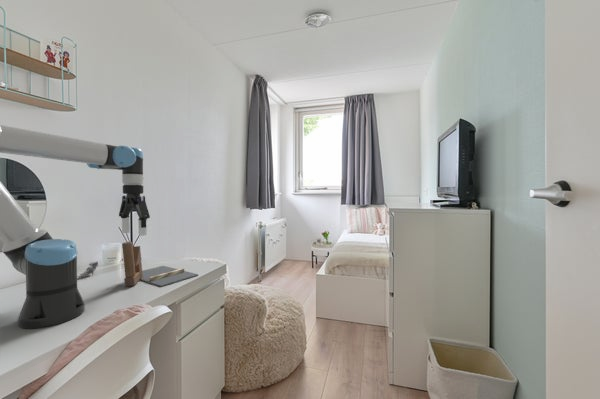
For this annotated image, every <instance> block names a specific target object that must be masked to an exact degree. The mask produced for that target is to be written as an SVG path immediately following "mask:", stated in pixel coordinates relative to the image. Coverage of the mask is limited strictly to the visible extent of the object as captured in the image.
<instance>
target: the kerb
mask: <svg viewBox="0 0 600 399" xmlns="http://www.w3.org/2000/svg"><path fill="white" fill-rule="evenodd" d="M178 269H179V270H175V271H171V272H167V273H164V274H160V275H156V276H152V277H150V281H153V280H157V279H161V278H164V277H168V276H171V275H175V274H178V273H182V272H184V271H185V268H183V267H182V268H178Z"/></svg>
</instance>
